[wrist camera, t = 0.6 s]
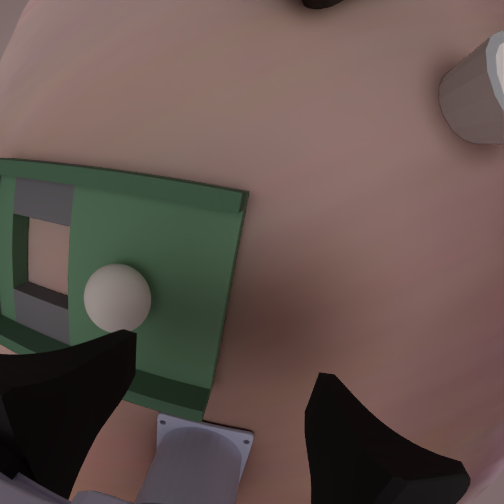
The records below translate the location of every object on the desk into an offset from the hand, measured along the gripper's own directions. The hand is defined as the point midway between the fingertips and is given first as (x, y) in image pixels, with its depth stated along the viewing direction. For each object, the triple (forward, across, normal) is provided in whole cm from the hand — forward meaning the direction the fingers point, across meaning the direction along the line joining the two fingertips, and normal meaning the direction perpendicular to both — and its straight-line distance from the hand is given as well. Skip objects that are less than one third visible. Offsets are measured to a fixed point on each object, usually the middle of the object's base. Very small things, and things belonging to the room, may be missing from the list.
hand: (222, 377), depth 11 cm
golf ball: (+5, +7, 0) cm, 9 cm away
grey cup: (+10, -13, -17) cm, 23 cm away
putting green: (+9, +11, -1) cm, 14 cm away
